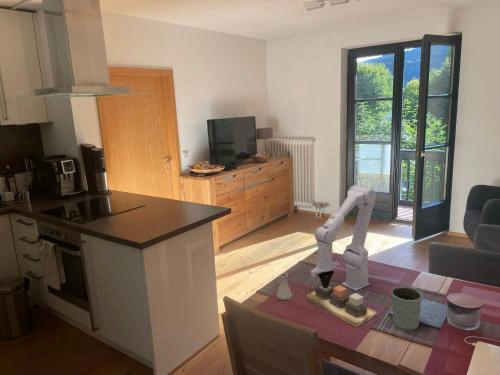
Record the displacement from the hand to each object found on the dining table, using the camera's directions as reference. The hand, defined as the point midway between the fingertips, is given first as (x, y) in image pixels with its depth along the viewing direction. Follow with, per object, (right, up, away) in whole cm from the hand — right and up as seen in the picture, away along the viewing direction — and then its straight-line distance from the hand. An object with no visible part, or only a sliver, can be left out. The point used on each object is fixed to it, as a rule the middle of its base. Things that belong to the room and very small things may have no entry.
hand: (325, 287), depth 152 cm
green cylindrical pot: (+25, -8, -18) cm, 32 cm away
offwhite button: (0, -3, +1) cm, 3 cm away
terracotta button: (+4, -1, -6) cm, 8 cm away
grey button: (+9, -3, -13) cm, 16 cm away
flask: (-16, -5, +5) cm, 18 cm away
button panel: (+5, -6, -5) cm, 10 cm away
